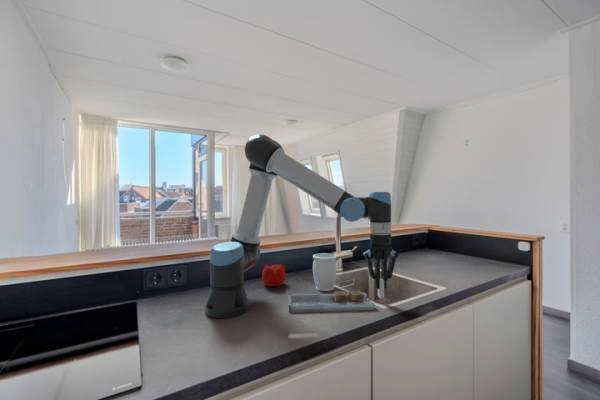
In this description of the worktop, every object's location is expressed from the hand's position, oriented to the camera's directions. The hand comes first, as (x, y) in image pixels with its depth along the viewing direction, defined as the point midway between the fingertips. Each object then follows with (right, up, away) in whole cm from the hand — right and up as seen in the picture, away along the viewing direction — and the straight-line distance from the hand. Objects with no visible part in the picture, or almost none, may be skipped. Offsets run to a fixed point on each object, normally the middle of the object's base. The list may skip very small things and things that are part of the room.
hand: (380, 296), depth 103 cm
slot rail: (-19, -3, -1) cm, 19 cm away
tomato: (-42, -3, +24) cm, 48 cm away
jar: (-19, -3, +17) cm, 26 cm away
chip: (-15, -2, -1) cm, 15 cm away
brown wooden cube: (-9, -2, 0) cm, 9 cm away
